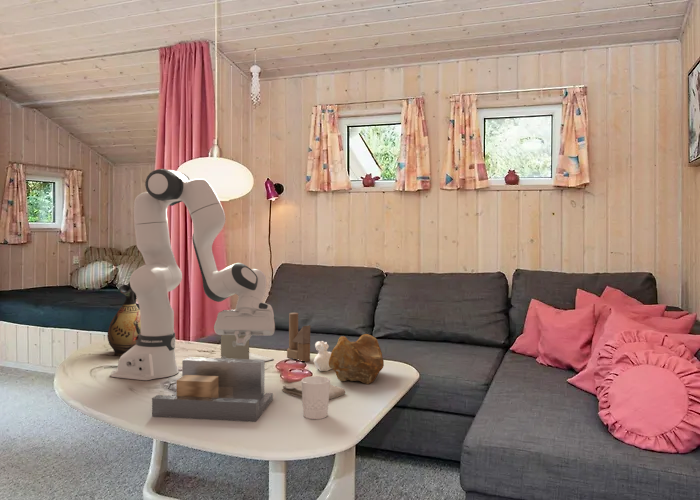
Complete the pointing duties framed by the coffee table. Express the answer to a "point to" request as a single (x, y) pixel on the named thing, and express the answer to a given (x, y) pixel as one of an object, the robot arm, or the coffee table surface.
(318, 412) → the white cup
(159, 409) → the base
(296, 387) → the washcloth
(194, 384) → the oak block
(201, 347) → the coffee table surface
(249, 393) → the block
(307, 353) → the wooden block
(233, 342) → the laptop
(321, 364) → the bust
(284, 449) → the coffee table surface
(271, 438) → the coffee table surface
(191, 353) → the coffee table surface
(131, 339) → the ceramic jug
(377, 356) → the rough brown rock
